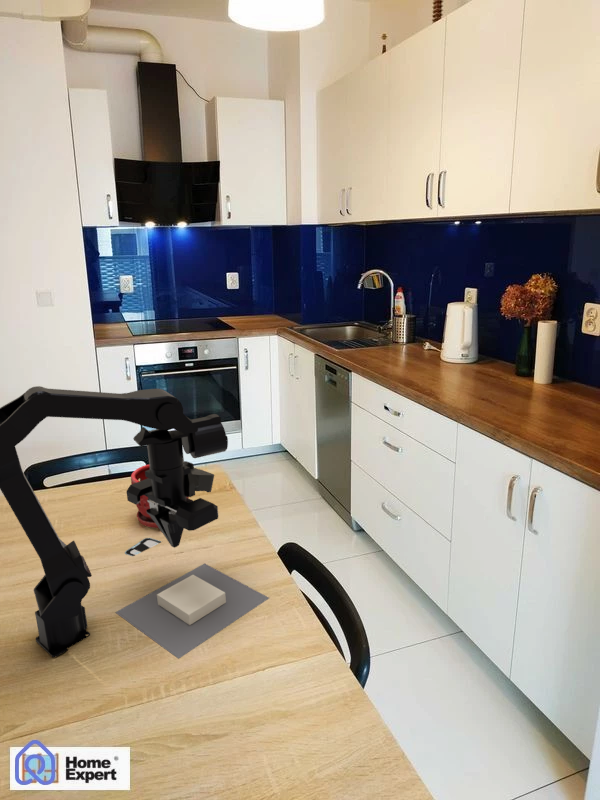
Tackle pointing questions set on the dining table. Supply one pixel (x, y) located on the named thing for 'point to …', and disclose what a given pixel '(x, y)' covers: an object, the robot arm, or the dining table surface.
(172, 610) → the tile
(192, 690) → the dining table surface
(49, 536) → the robot arm
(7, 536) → the dining table surface
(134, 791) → the dining table surface
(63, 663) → the dining table surface
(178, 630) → the mat
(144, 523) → the plant pot
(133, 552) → the smartphone
